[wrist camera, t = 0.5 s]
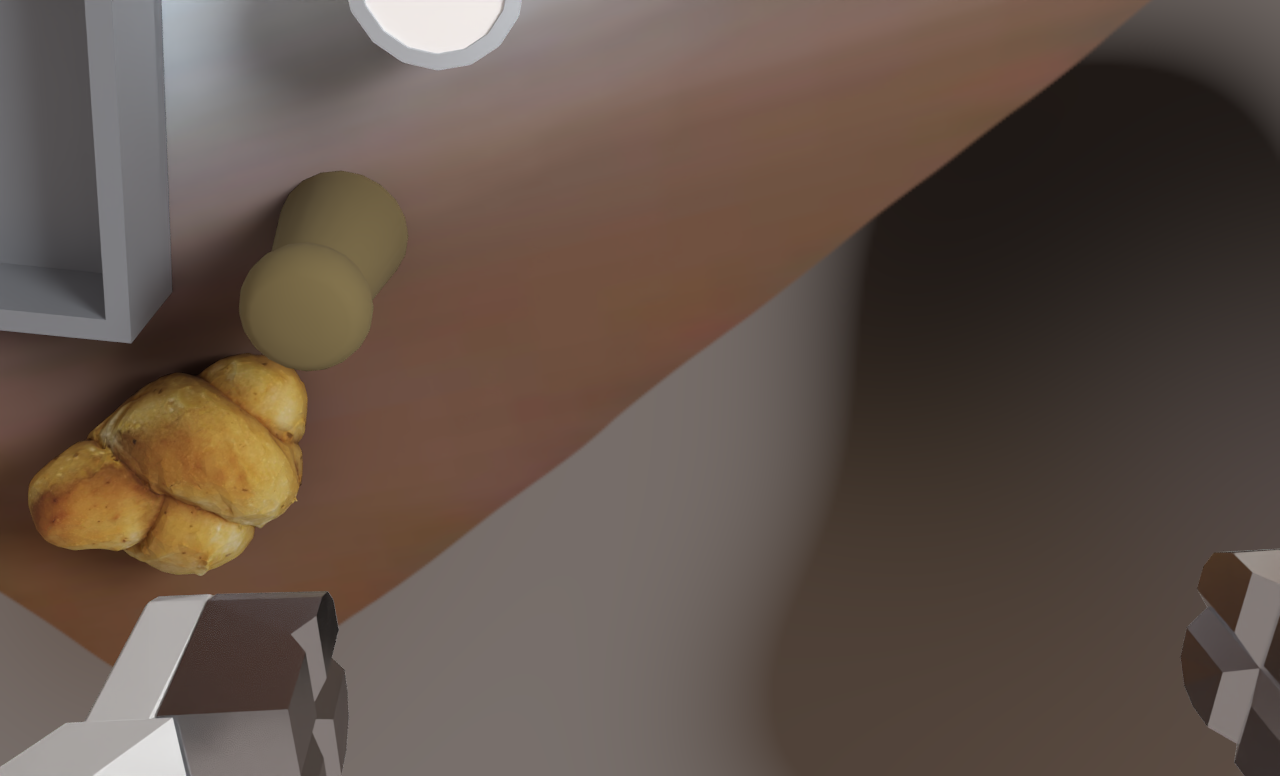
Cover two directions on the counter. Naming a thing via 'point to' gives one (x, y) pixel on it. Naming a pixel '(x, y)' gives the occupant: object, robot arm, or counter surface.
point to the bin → (83, 168)
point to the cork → (323, 271)
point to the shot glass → (437, 28)
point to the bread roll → (181, 468)
